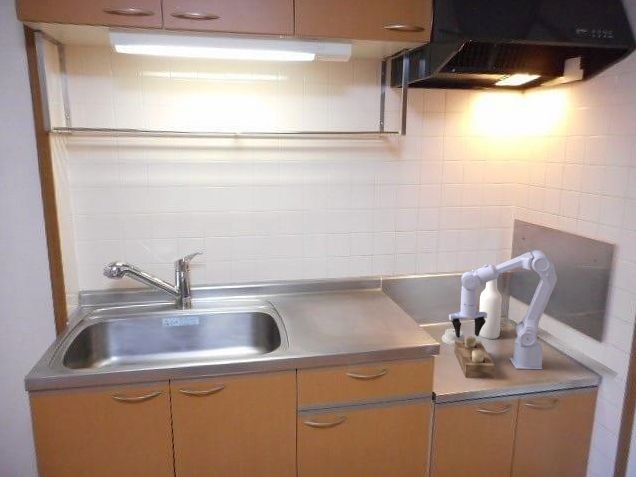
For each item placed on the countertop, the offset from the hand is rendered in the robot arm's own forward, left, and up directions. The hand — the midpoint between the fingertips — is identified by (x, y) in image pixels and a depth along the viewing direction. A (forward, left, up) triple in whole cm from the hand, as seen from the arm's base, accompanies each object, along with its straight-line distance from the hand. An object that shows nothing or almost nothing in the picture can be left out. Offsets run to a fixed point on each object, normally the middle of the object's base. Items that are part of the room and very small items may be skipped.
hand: (467, 336), depth 178 cm
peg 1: (-1, -1, -6) cm, 6 cm away
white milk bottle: (-14, -22, -10) cm, 28 cm away
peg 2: (-1, +11, -6) cm, 13 cm away
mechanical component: (+2, -16, -10) cm, 19 cm away
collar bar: (-1, +5, -9) cm, 11 cm away
